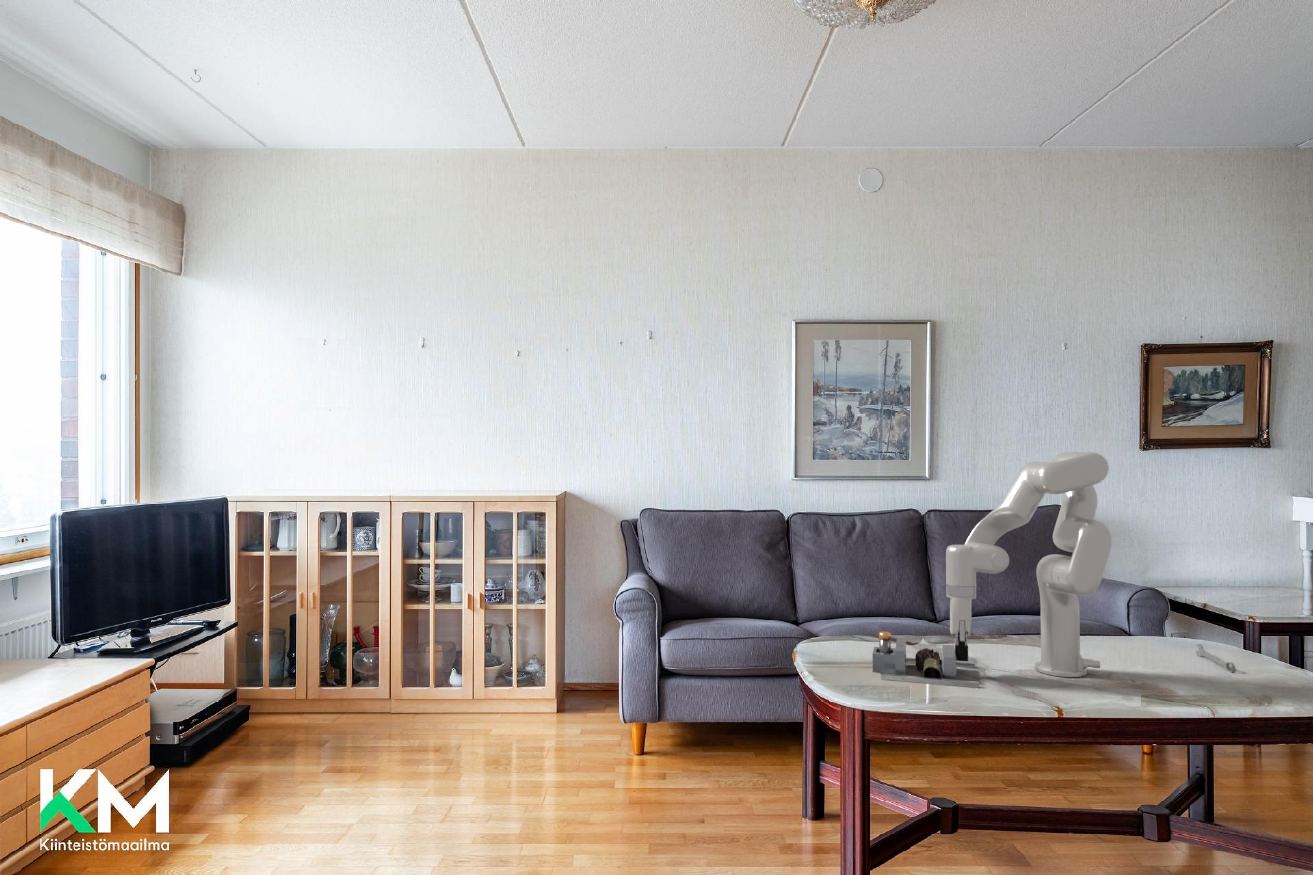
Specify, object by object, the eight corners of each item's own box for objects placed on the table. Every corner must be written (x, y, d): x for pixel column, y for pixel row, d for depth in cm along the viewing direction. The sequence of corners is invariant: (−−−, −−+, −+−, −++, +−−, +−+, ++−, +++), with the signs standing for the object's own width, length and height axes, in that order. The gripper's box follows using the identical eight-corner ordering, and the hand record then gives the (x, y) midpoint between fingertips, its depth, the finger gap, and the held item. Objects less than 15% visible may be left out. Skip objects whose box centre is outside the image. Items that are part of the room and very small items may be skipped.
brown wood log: (942, 684, 202) (942, 662, 203) (915, 682, 205) (914, 660, 205) (941, 666, 219) (940, 645, 219) (915, 664, 221) (915, 644, 221)
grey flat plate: (974, 666, 218) (974, 662, 218) (979, 687, 199) (979, 683, 199) (884, 659, 226) (884, 655, 226) (881, 679, 206) (881, 674, 206)
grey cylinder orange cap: (879, 667, 218) (879, 631, 218) (891, 668, 217) (891, 631, 217) (878, 670, 215) (878, 633, 215) (891, 671, 214) (890, 634, 214)
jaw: (954, 667, 217) (954, 645, 217) (956, 681, 203) (956, 657, 203) (941, 666, 218) (941, 644, 218) (942, 679, 204) (942, 656, 205)
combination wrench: (1236, 662, 211) (1199, 642, 231) (1230, 661, 212) (1194, 642, 231) (1236, 675, 211) (1199, 655, 231) (1230, 675, 212) (1194, 654, 231)
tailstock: (906, 664, 221) (906, 639, 221) (905, 677, 207) (904, 651, 208) (875, 661, 223) (874, 637, 224) (871, 674, 210) (871, 648, 210)
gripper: (945, 586, 218) (945, 652, 218) (947, 595, 204) (947, 666, 204) (974, 587, 216) (974, 654, 215) (978, 597, 202) (978, 668, 201)
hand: (961, 660), depth 209 cm, fingers closed
